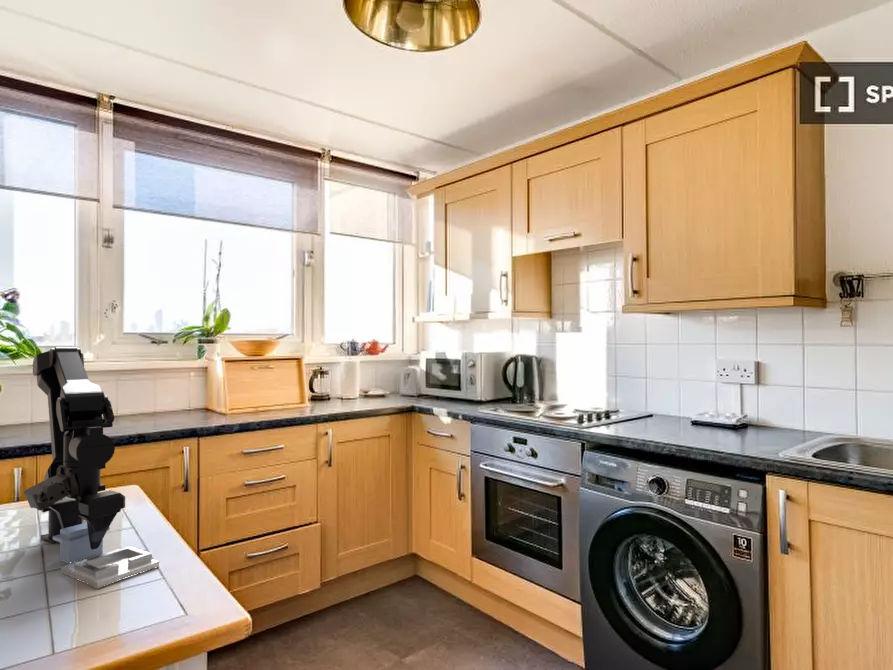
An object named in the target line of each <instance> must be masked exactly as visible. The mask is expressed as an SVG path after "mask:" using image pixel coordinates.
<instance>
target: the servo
mask: <svg viewBox="0 0 893 670" xmlns="http://www.w3.org/2000/svg"><path fill="white" fill-rule="evenodd" d="M107 531H110V526H109V528H108V530H107ZM53 540H55V541H57V542H60V543H59V544H60V545H59V560H60V561H62V562H64V561H65V562H64V563H67V562H68V563H67V564H69V563H70V562H73V563H75V562H74V561H76V562H78V561H77V560H79V561H82V560H81V559H83V560H85V559H84V558H86V559H88V557H89V558H91V557H95V556H98V555H101V554H104V551H103V550H104V549H103V546H104V545H103V544H104V539H103V540H102V541H101V543H100V545H99V547H98V548H97V549H93V550H92V549H91V547H90V542H89V534H88V527H87V522H84V523H83V524H79V525H75V526H71V527H67V528H64V529H60V535H56V536H53ZM70 564H71V563H70Z"/></svg>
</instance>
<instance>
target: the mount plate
mask: <svg viewBox="0 0 893 670" xmlns="http://www.w3.org/2000/svg"><path fill="white" fill-rule="evenodd" d="M158 566H159V567H160V561H159V560H156V559H153V553H152V552H149V551H146V550H143V549H141V548H138V547H134V546H132V545H129V546H128V545H127V546H125V547H121V548H118V549H114V550H112V551H111V550H110V551H107V552H105V553H104V552H103V553H102V554H99V555H96V556H92V557H89V558H86V559H83V560H79V561H76V562H73V563H70V564H69V563H68V564H65V565H62V566H61V567H60V569H61V571H60V573H61V574H63V573H64V574H63V575H65V574H66V575H65V576H68V575H69V576H68V577H70V576H71V577H70V578H72V577H74V578H76V579H75V580H77V579H79V580H81V581H84V582H86V583H88V584H90V585H92V586H94V587H93V588H95V587H96V588H95V589H97V588H99V589H101V588H100V587H102V586H104V585H107V584H109V583H112V582H115V581H117V580H119V579H123V578H125V577H128V576H131V575H134V574H137V573H140V572H143V571H146V570H149V569H152V568H155V567H158ZM159 567H158V568H159ZM155 569H156V568H155ZM152 570H153V569H152ZM149 571H150V570H149ZM74 578H73V579H74ZM79 580H78V581H79ZM81 581H80V582H81ZM86 583H85V584H86ZM88 584H87V585H88ZM90 585H89V586H90ZM92 586H91V587H92ZM107 586H108V585H107ZM102 588H103V587H102Z"/></svg>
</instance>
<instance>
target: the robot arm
mask: <svg viewBox="0 0 893 670" xmlns="http://www.w3.org/2000/svg"><path fill="white" fill-rule="evenodd" d="M84 361H85V359H84V353H82V350H81V348H80V347H76V346H54V347H51V348H50V349H49V350H47V351H43V352H40V353H38V354H36V355H35V356H34V358H33V361H32V375H33V376H34V377H35V376H36V381H37V382H36V383H37V387H38V388H39V389H40V390H42V392H43V393H44V394H45V395H47V404H48V405H47V406H48V407H47V408H48V417H49V418H48V419H49V430H50V432H49V433H50V443H51V456H52V458H51V459H52V462H51V464H50V466H48V469H47V471H46V472H45V473H44V477H43V478H44V480H42V481H40V482H38V483H36V484H35V485H32V486H31V487H28V488H27V489H24V491H23V493H24V495H25V498H26V501H27V502H28V505H29V507H30V508H31V509H36V510H37V511H41V513H46V512H48V516H47V517H48V525H47V527H48V529H47V533H45V534H41V535H40V539H42V540H45V541H47V542H48V543H49V542H50V543H52V544H58V543H59V544H60V542H57V541H55V540H53V536H56V535H60V529H64V528H67V527H71V526H75V525H79V524H83V521H85V523H87V527H88V534H89V542H90V547H91V549H92V550H93V549H97V548H98V547H99V545H100V543H101V541H102V540H103V541H104V537H105V536H106V533H107V530H108V528H109V527H110V526H111V524H112V522H113V521H114V520H115V518H116V516H117V514H118V513H120V512H121V511H122V509H124V508H126V496H125V495H123V494H122V493H121V492H119V491H115V490H112V489H111V490H106V484H103V483H101V482H102V481H101V477H102V476H101V470H103V469H106V464H107V463H108V462H110V460H111V459H112V458H113V456H114V454H115V450H116V449H115V448H116V446H115V444H114V441H113V439H112V438H111V437H109V435H106V434H104V429H107V428H113V425H114V424H113V423H114V421H115V418H116V417H115V415H114V409H113V405H112V403H111V401H110V400H109V396H108V395H105V392H104V391H103V389H102V387H101V386H100V385H99V384H96V383H93V382H91V381H90V378H89V376H88V373H87V371H86V369H85V362H84ZM108 531H109V530H108Z"/></svg>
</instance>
